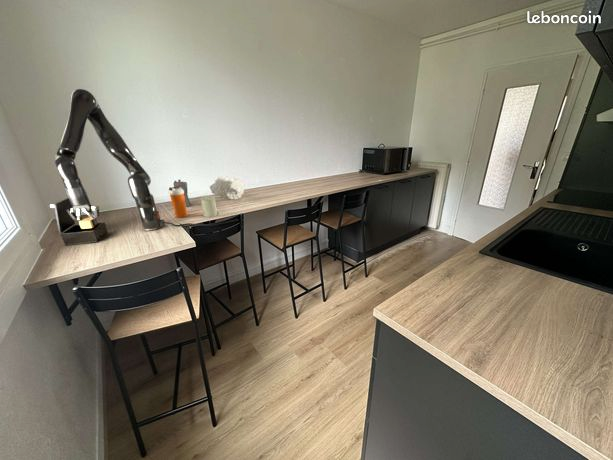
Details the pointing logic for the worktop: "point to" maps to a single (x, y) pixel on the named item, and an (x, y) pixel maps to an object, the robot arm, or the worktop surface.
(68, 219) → the lid
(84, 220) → the sandwich
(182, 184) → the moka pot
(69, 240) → the dark brown box
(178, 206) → the shaker bottle
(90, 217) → the robot arm
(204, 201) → the can
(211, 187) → the crumpled white cloth
